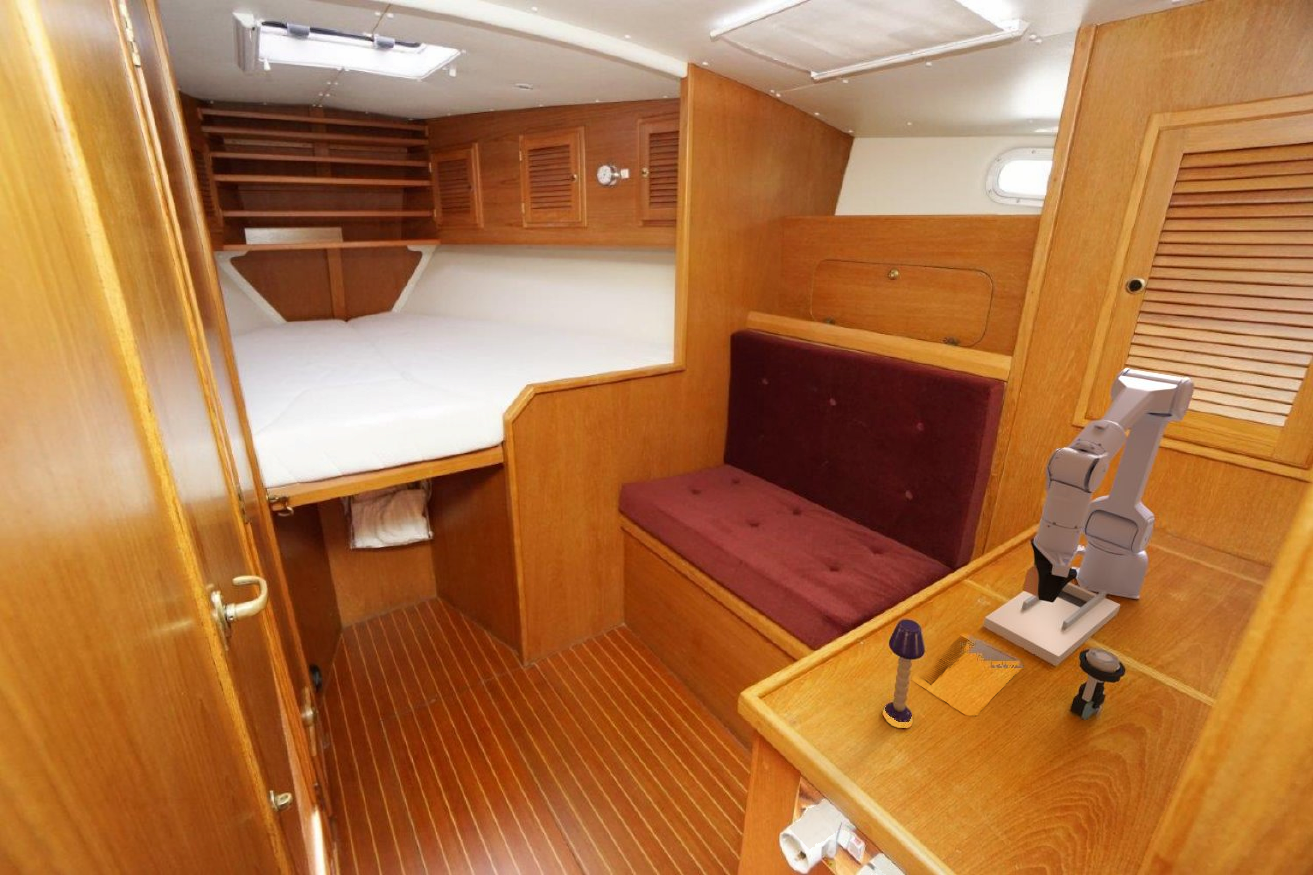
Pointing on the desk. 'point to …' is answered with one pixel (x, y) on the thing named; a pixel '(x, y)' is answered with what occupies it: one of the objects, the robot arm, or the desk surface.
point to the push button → (1095, 680)
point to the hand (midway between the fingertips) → (1043, 590)
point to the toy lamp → (904, 665)
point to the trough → (1052, 621)
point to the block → (1031, 581)
